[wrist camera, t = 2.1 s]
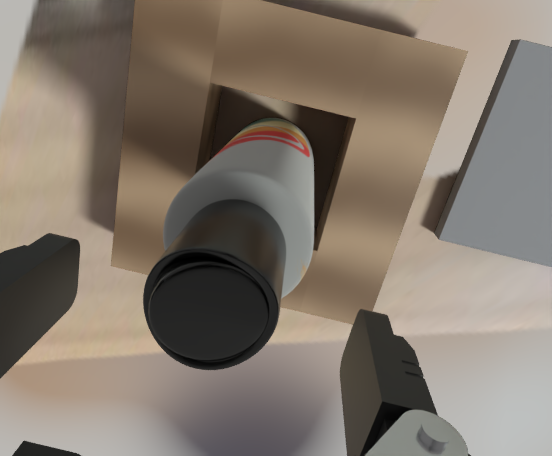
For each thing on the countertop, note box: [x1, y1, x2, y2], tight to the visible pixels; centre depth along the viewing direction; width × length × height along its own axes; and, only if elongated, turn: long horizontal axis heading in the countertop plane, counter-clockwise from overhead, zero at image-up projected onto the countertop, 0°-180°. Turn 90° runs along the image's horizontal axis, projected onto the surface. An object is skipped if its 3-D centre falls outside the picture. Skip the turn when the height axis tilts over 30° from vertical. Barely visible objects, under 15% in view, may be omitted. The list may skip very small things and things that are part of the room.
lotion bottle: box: [143, 118, 314, 370], centre depth 20 cm, size 6×6×20 cm
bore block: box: [111, 0, 468, 324], centre depth 28 cm, size 18×18×4 cm
